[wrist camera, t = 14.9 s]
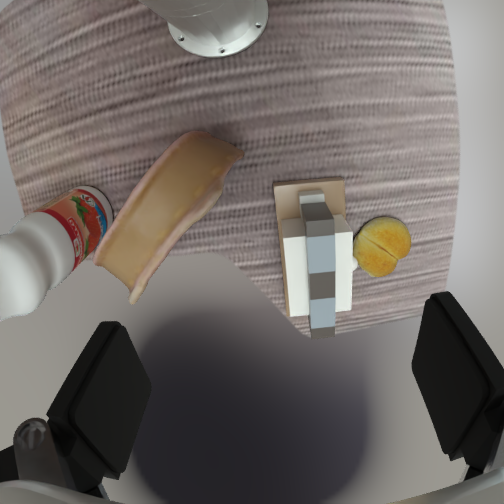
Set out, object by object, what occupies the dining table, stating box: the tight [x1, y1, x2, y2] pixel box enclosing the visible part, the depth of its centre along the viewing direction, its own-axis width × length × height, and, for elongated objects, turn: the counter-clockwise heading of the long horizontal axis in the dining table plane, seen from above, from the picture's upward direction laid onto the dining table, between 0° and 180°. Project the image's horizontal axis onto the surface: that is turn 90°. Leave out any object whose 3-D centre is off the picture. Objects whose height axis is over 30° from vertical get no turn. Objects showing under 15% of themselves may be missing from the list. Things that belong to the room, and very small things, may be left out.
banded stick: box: [301, 202, 336, 339], centre depth 39 cm, size 16×3×6 cm, turn 7°
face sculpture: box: [93, 131, 244, 304], centre depth 35 cm, size 20×7×17 cm, turn 141°
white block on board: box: [273, 177, 358, 317], centre depth 42 cm, size 20×10×8 cm, turn 8°
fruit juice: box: [0, 186, 113, 321], centre depth 32 cm, size 9×9×28 cm
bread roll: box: [353, 217, 411, 277], centre depth 43 cm, size 8×9×4 cm
